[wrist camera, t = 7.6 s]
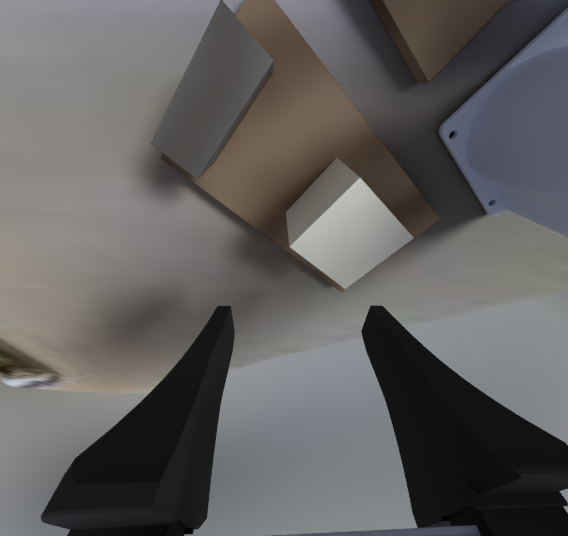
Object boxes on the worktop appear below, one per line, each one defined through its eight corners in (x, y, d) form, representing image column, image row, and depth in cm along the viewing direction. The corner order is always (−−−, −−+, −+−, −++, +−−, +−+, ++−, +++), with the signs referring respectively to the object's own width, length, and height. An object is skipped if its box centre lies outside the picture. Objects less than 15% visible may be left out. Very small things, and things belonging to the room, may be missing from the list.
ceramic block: (380, 205, 17) (413, 238, 13) (330, 249, 19) (345, 289, 15) (336, 157, 15) (360, 177, 11) (285, 212, 17) (289, 246, 13)
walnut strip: (431, 212, 19) (477, 244, 14) (338, 284, 23) (353, 325, 19) (257, -13, 11) (248, -83, 7) (167, 154, 15) (127, 173, 11)
